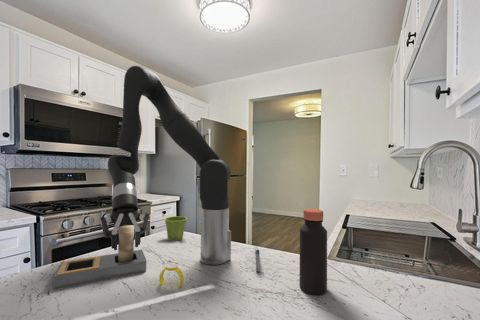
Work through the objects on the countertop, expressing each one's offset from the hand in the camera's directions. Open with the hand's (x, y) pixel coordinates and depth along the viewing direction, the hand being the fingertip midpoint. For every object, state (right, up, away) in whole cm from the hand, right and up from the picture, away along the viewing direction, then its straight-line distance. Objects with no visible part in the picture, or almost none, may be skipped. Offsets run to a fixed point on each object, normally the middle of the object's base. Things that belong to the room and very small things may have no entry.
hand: (126, 247), depth 67 cm
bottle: (+51, -8, -7) cm, 52 cm away
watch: (+15, -8, -8) cm, 19 cm away
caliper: (+38, -9, +12) cm, 41 cm away
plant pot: (+5, -9, +32) cm, 34 cm away
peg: (-1, -7, +1) cm, 7 cm away
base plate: (-6, -8, -1) cm, 10 cm away
